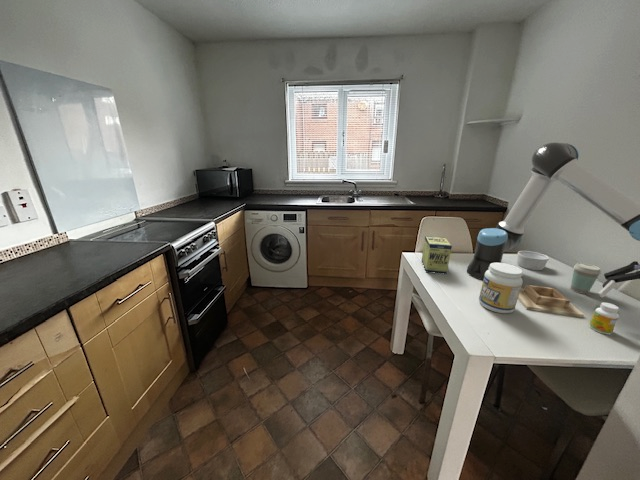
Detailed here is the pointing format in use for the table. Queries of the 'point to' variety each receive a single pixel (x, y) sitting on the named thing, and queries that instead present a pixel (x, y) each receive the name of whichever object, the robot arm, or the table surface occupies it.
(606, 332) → the supplement bottle
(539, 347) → the table surface
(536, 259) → the ramekin
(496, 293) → the supplement tub
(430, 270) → the protein box
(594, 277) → the coffee cup
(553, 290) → the birch rack
